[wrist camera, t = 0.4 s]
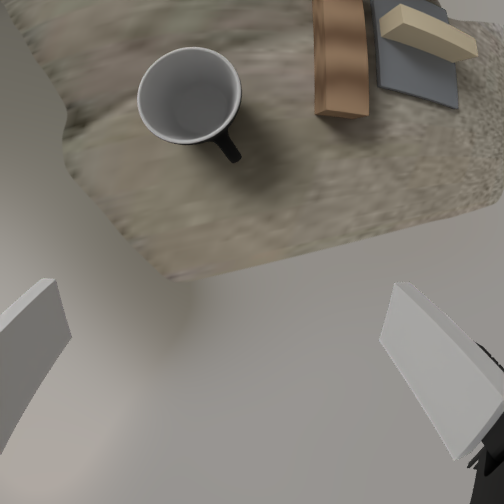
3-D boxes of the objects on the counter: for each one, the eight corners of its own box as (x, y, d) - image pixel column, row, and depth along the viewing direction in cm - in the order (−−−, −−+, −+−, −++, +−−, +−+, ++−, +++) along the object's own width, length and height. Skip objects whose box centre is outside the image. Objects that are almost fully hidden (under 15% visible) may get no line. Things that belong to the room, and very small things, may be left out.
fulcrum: (367, -18, 24) (387, -39, 18) (442, 11, 25) (467, 0, 18) (377, 86, 30) (405, 77, 24) (454, 109, 31) (485, 107, 24)
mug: (149, 104, 30) (118, 89, 20) (211, 60, 28) (203, 28, 19) (206, 181, 33) (195, 194, 24) (269, 138, 32) (283, 133, 23)
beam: (310, -16, 25) (319, -33, 20) (345, -9, 25) (358, -24, 20) (313, 114, 32) (326, 109, 27) (352, 119, 32) (368, 115, 27)
